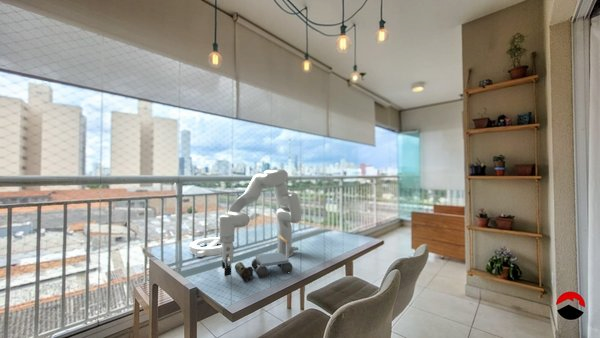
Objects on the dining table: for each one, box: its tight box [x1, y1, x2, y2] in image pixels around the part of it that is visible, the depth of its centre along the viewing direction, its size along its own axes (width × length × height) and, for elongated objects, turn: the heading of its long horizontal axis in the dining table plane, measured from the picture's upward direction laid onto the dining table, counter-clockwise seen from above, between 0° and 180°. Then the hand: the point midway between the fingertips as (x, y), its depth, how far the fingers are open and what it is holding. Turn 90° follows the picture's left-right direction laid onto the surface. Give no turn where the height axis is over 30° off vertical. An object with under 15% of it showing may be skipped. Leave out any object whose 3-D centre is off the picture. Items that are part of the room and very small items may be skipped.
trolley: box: [251, 235, 293, 279], centre depth 134 cm, size 20×14×18 cm
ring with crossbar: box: [189, 236, 222, 258], centre depth 170 cm, size 28×28×5 cm
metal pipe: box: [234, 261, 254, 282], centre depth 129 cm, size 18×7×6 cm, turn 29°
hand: (226, 271), depth 125 cm, fingers open, 9 cm apart
